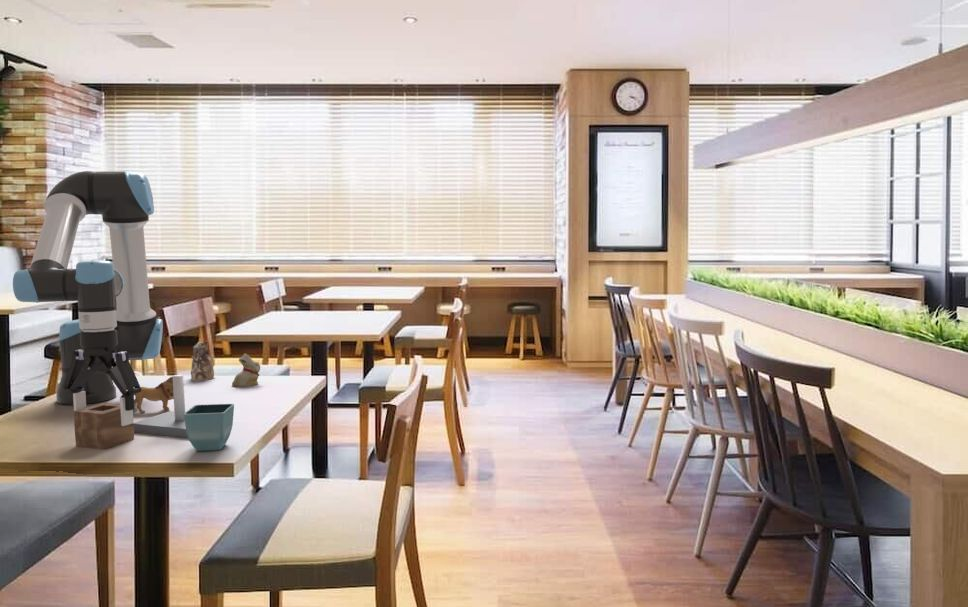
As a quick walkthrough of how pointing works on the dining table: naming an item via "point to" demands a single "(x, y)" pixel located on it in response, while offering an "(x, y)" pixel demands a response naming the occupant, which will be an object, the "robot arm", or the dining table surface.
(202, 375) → the figurine
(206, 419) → the flower pot
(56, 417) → the dining table surface
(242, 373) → the chocolate bunny
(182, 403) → the spindle stand
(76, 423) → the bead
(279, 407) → the dining table surface
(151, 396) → the lion figurine
